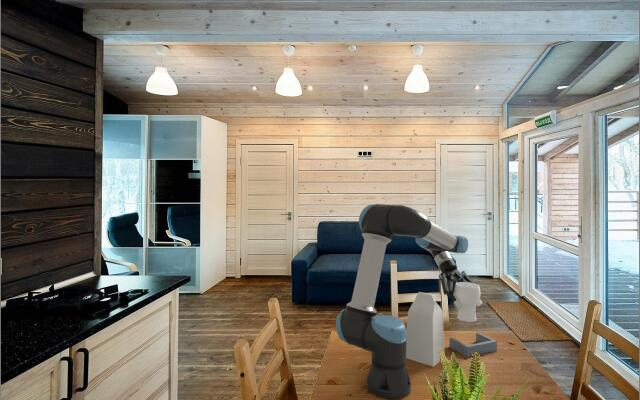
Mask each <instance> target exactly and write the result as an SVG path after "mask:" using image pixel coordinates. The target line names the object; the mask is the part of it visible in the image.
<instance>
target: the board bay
mask: <svg viewBox="0 0 640 400" xmlns="http://www.w3.org/2000/svg"><path fill="white" fill-rule="evenodd" d="M475 334H476V335H475V341H476V342H477V343H472V344H468V345H467V344H464V343H462V342H461V341H459V340H457V339H455V338H454V337H450V336H449V339H448V341H449V342H448V343H449V344H448V345H449V346H448V347H449V348H451V349H453V350H454V351H456V352H458V353H460V354H461V355H463V356H465V357H466V358H470V357H473V356H472V354H473V353H475V352H478V353H479V355H483V354H484V355H485V354H487V353H492V352H493V353H494V352H497V351H498V341H497V340H495V339H493V338H492V337H489V336H486V335H485V334H482V333H480V332H479V331H478V332H475Z"/></svg>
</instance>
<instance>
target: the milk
mask: <svg viewBox="0 0 640 400" xmlns="http://www.w3.org/2000/svg"><path fill="white" fill-rule="evenodd" d="M443 312H444V311H443V310H442V308H441V306H440V305H439V304H438V302H436V299H435V296H434V294H432V293H427V292H421V291H418V292H417V294H416V296H415V298H414V300H413V302H412V303H411V306H410V307H409V308H408V312H407V318H406V320H407V321H406V335H407V339H406V359H408V360H411V361H413V362H414V361H415V362H416V363H417V362H418V363H421V364H423V365H428V366H429V367H430V366H431V367H435V366H436V365H437V364H439V362H440V361H441V360H440V353H439V348H441V349H442V350H443V351H444V352H445V338H444V337H445V335H444V334H445V332H444V330H445V329H444V313H443Z"/></svg>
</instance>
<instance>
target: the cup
mask: <svg viewBox="0 0 640 400" xmlns="http://www.w3.org/2000/svg"><path fill="white" fill-rule="evenodd" d="M474 283H475V282H474ZM474 283H469V282H456V283H455V286H454V288H453V293H455V294H456V295H457V297H458V299H459V301H460V303H461V304H462V307H461V308H460V309H458V312H457V319H458V320H460V321H462V322H468V323H473V322H476V321H477V313H476V312H477V311H476V309H477V307H478V306H477V304H478V302H479V300H481V295H482V293H481V288H480V285H479V284H477V283H475V284H474Z"/></svg>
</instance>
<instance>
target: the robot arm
mask: <svg viewBox="0 0 640 400" xmlns="http://www.w3.org/2000/svg"><path fill="white" fill-rule="evenodd" d="M358 224H359V229H360V230H361V236H362V237H363V239H364V242H363V245H362V251H361V255H360V261H359V265H358V269H357V274H356V279H355V283H354V288H353V293H352V295H351V296H352V297H351V301H350V302H348V303H346V306H345V308H343V309H342V310H341V311H340V312H339V313H338V315H337V316H336V319H335V329H336V334H337V337H338V338H339V339H340V340H341V341H342V342H344V343H346V344H348V345H351V346H353V347H357V348H359V349H362V350H364V351H367V352H370V353H371V364H370V367H369V370H368V373H367V376H366V388H367V390H368V391H369V392H370V393H371V394H373V395H374V396H376V397H379V398H382V399H389V400H390V399H391V400H398V399H402V398H405V397H407V396H409V395H410V393H411V391H412V381H411V378H410V375H409V371H408V369H407V358H406V339H407V335H406V332H407V326H406V325H405V323H404V322H403V320H401V319H400V318H398V317H397V316H394V315H391V314H383V313H382V314H381V313H380V314H378V312H377V309H376V308H375V303H376V300H377V299H376V298H377V292H378V288H379V285H380V284H379V283H380V278H381V275H382V274H381V273H382V267H383V262H384V259H385V258H384V257H385V254H386V249H387V245H388V244H389V243H391V242H392V239H393V236H395V237H396V236H399V237H403V236H404V237H412V238H415V243H416V244H417V245H418V246H419V247H420V248H423V249H424V250H425V251H427V252H429V253H430V254H431V255H432V256H431V257H433V259H434V261H435V263H436V266H438V269H439V270H440V272H441V273H439V275H438V278H439V280H440V283H441V289H442V293H443V295H444V296H445V295H446V297H448V298H450V300H451V302H453V304H454V305H455V307H456V309H457V310H459V309H460V308H461V307H462V304H461V303H460V301H459V299H458V297H457V295H456V294H455V293H454V282H456V283H458V282H469V283H474V284H476V283H475V282H474V281H473V280H472V279H471V278H470V277H469V275H467V273H466V271H465V270H462V271H460V270H458V266H457V264H456V262H455V261H454V260H453V257H452V255H451V254H450V253H454V254H465V253H466V252H467V251H468V248H469V240H468V238H467V237H466V236H462V235H456V234H453V233H452V232H450V231H448V230H447V229H445V228H443V227H441V226H440V225H437V224H436V223H435V222H433V221H431V219H430V217H429V216H428V215H426V214H424V213H422V212H420V211H419V210H416V209H414V208H412V207H409V206H405V205H402V204H382V203H375V204H369V205H367V206H365V207H364V208H363V209H362V210H361V212H360V214H359V217H358ZM482 304H483V301H482V300H481V299H480V300H479V302H478V304H477V306H476V307H481V305H482Z"/></svg>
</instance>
